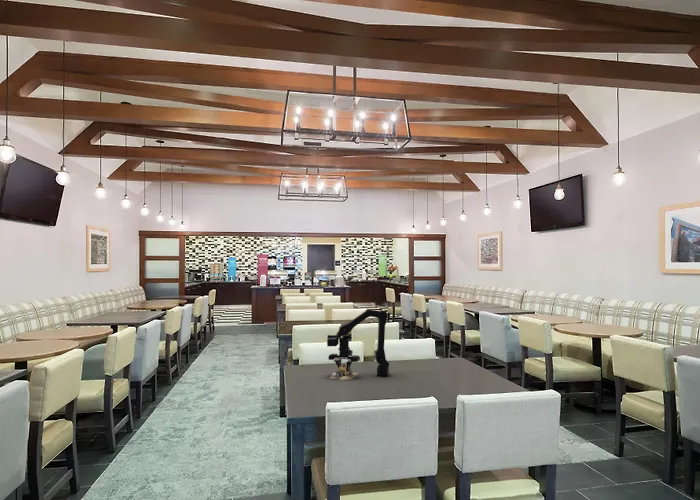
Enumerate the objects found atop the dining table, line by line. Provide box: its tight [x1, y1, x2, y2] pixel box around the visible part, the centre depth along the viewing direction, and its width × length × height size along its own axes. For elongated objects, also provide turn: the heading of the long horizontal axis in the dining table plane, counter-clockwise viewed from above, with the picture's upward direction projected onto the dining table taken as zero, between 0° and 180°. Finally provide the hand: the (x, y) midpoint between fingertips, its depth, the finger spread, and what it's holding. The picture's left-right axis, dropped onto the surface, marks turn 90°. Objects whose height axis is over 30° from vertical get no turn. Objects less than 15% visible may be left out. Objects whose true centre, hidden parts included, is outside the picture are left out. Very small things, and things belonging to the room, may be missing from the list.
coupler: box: [338, 363, 349, 375], centre depth 259 cm, size 4×4×6 cm
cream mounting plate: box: [329, 367, 358, 381], centre depth 260 cm, size 12×16×4 cm
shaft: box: [330, 369, 342, 378], centre depth 255 cm, size 6×5×3 cm
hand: (344, 372), depth 259 cm, fingers closed on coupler, 4 cm apart
